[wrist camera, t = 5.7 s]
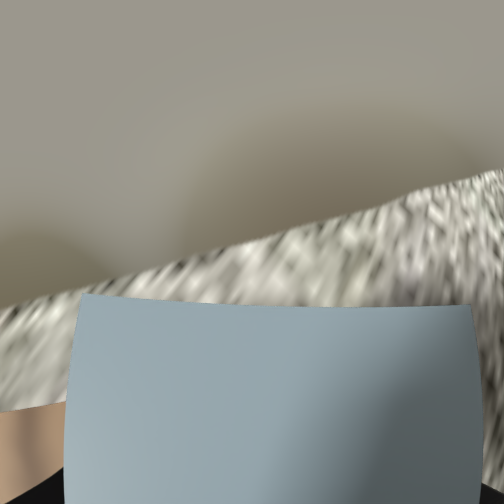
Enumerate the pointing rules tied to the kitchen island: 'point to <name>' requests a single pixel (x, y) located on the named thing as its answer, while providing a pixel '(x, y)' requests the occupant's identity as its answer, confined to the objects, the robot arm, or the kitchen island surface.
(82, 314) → the slate-blue post
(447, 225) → the kitchen island surface
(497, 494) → the robot arm
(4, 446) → the tan flat board
